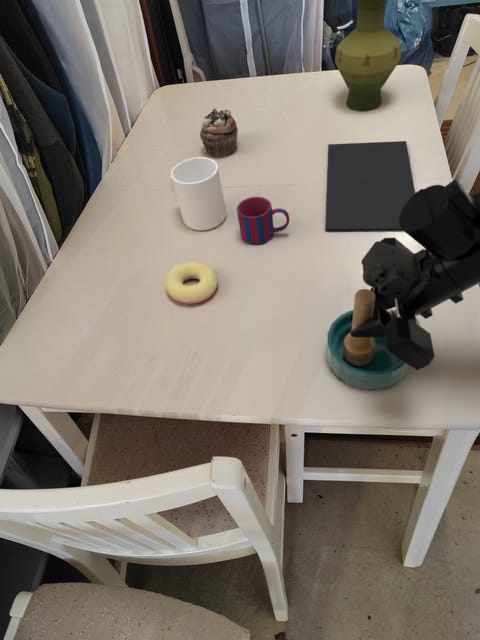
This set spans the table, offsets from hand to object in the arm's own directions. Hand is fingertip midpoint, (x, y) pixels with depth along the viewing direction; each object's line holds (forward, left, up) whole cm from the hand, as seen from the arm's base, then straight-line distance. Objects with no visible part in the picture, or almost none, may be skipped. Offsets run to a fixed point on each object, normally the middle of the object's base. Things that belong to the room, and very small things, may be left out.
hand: (351, 326), depth 63 cm
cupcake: (+31, -63, -8) cm, 71 cm away
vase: (-5, -84, -8) cm, 85 cm away
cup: (+16, -29, -8) cm, 35 cm away
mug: (+31, -35, -8) cm, 48 cm away
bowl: (-3, 0, -8) cm, 8 cm away
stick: (-1, 0, -7) cm, 7 cm away
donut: (+28, -14, -8) cm, 33 cm away
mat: (-5, -46, -8) cm, 47 cm away
